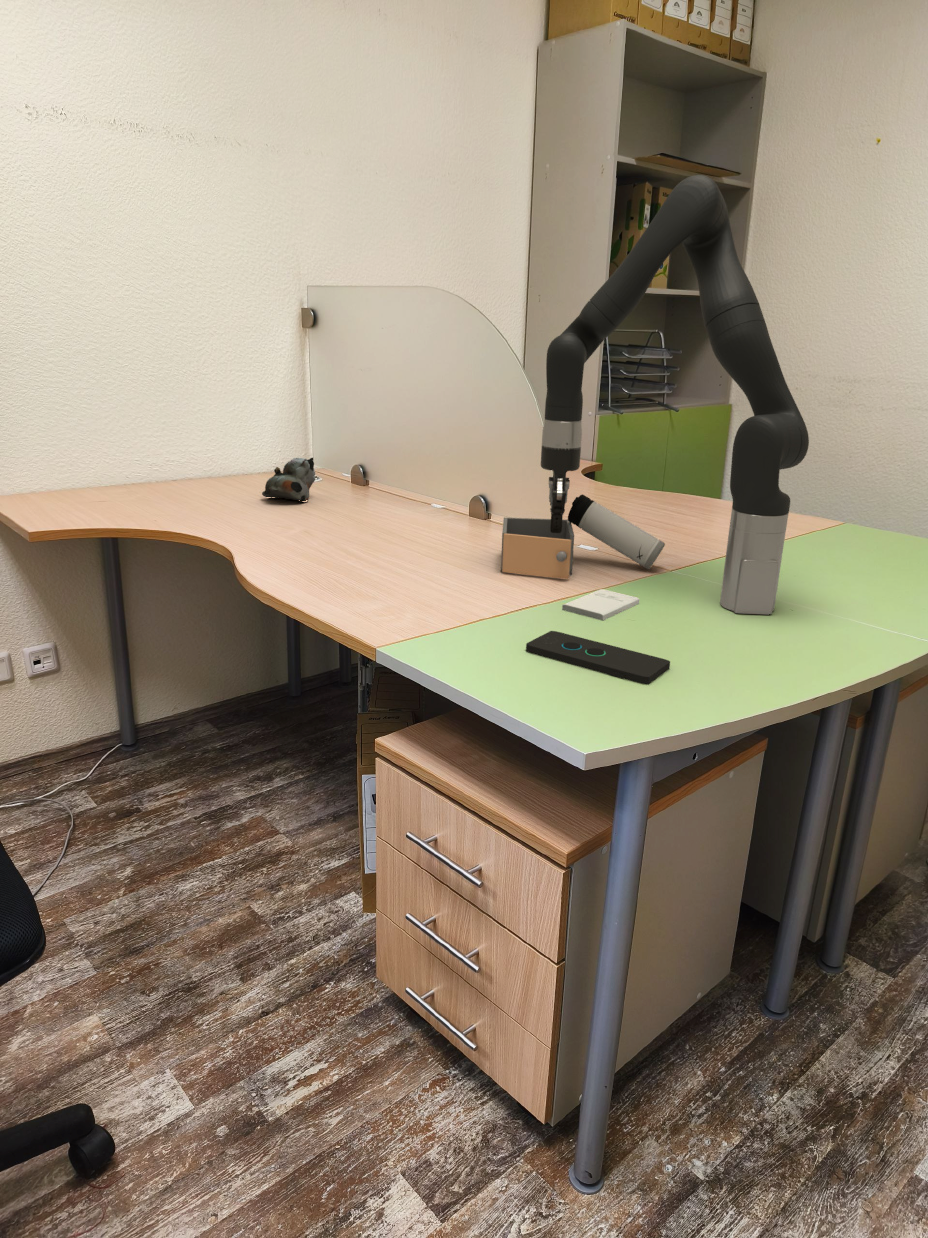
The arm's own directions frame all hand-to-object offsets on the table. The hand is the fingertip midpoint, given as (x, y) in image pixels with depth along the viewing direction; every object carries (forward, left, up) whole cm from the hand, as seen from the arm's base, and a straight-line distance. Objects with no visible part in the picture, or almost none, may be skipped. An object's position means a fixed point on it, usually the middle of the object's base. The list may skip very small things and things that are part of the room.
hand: (555, 531), depth 165 cm
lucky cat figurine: (+60, +70, -8) cm, 92 cm away
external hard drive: (-23, -8, -8) cm, 25 cm away
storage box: (+4, +4, -8) cm, 9 cm away
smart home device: (-48, -5, -8) cm, 49 cm away
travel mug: (+2, -21, -5) cm, 22 cm away
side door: (-7, +4, -7) cm, 11 cm away
